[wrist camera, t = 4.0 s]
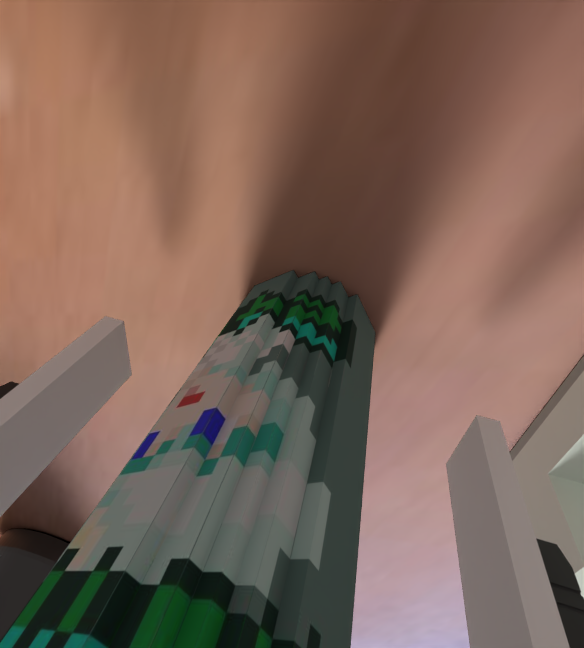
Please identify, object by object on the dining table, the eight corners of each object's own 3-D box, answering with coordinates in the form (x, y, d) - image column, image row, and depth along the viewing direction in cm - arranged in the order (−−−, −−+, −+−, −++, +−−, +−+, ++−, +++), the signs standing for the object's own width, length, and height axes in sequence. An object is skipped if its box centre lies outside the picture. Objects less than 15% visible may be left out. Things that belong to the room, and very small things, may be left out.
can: (337, 251, 15) (26, 1138, 2) (391, 367, 17) (383, 1110, 5) (218, 300, 17) (-226, 835, 5) (280, 394, 19) (85, 916, 7)
